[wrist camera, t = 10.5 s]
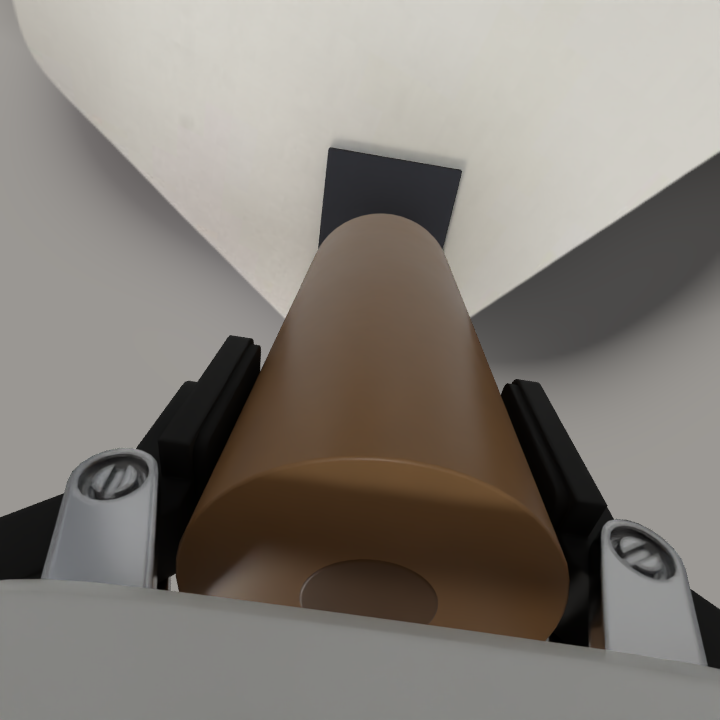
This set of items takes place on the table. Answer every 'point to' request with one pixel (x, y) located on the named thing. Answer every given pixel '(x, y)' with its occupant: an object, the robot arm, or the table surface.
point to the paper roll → (379, 458)
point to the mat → (387, 191)
